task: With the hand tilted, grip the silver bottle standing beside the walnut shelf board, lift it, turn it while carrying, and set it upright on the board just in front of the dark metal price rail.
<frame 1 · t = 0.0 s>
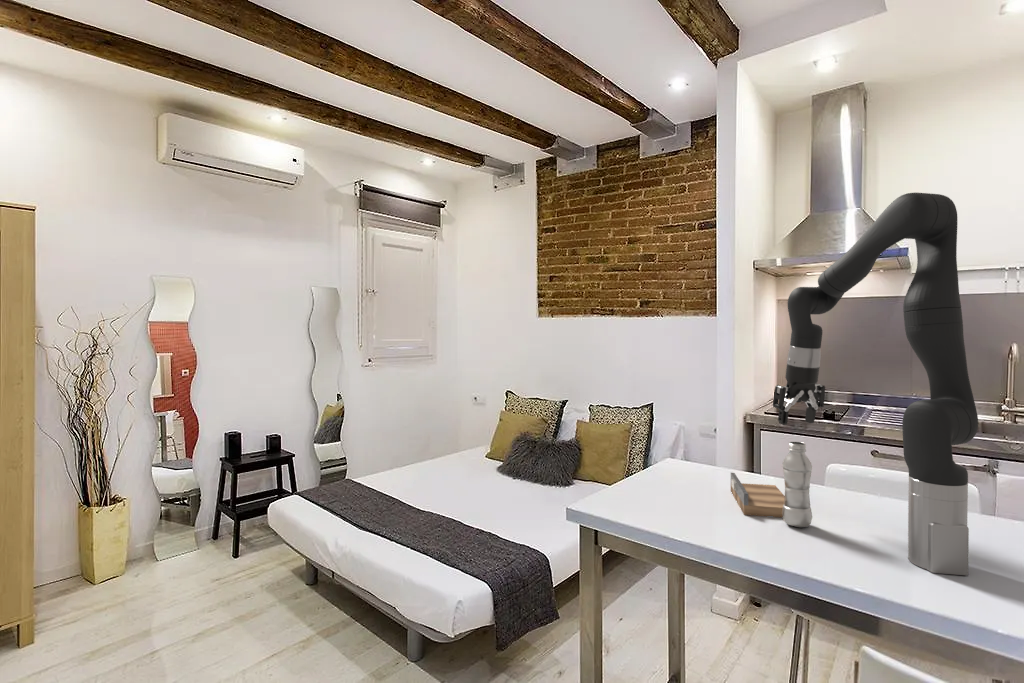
hand: (796, 423, 139), 22 cm above the table, tool pointing down, fingers open, 8 cm apart
price rail: (738, 502, 144), resting on shelf board
shelf board: (760, 503, 142), on the table
silver bottle: (796, 526, 127), on the table
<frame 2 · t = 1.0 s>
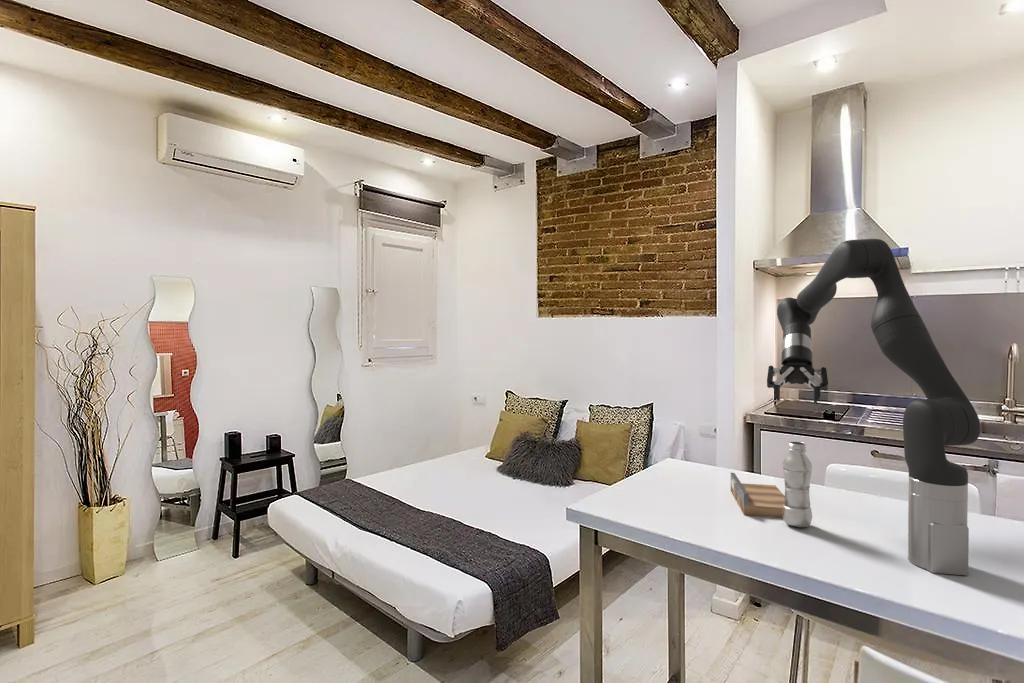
hand: (796, 399, 136), 29 cm above the table, tool tilted 45°, fingers open, 8 cm apart
nothing on the table moved.
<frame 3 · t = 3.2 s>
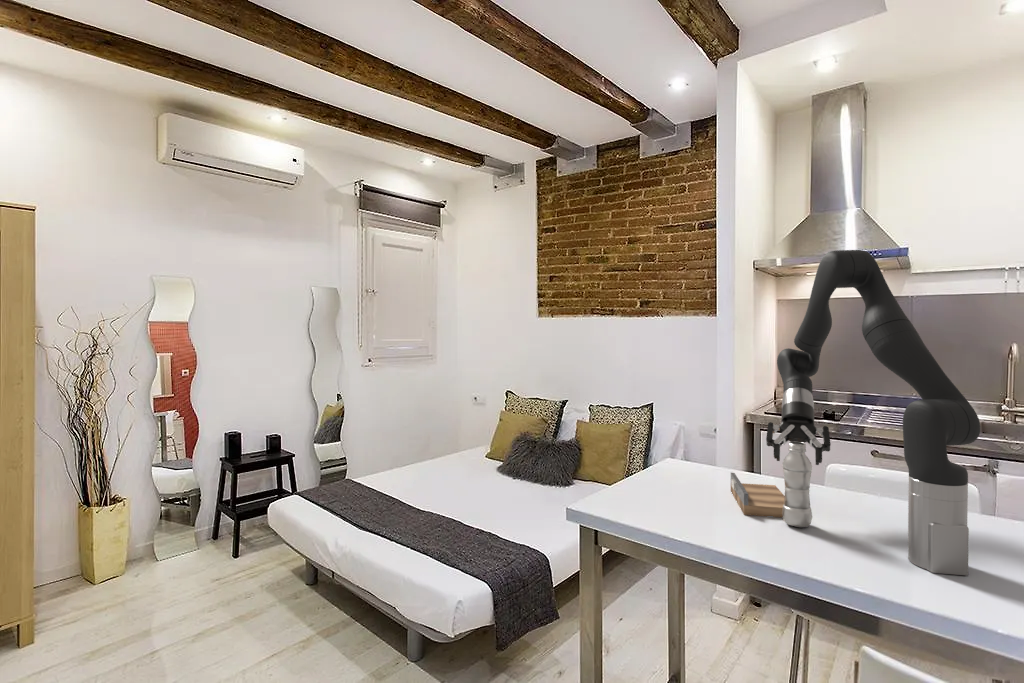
hand: (797, 461, 130), 15 cm above the table, tool tilted 45°, fingers open, 8 cm apart
nothing on the table moved.
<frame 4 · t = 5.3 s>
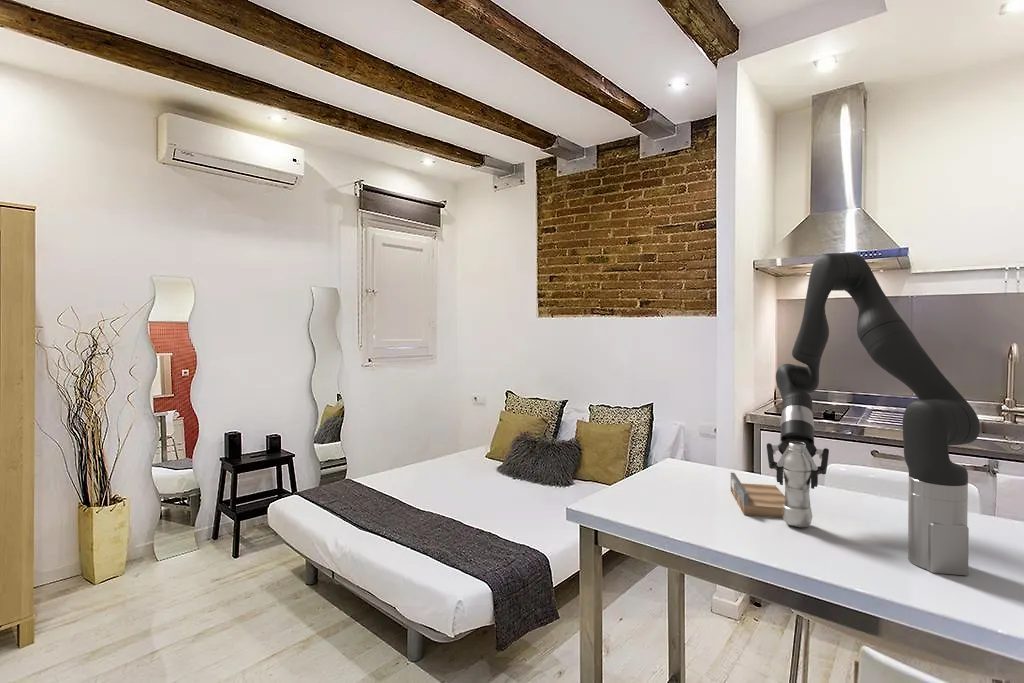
hand: (796, 484, 125), 10 cm above the table, tool tilted 45°, fingers closed on silver bottle, 6 cm apart
silver bottle: (796, 526, 127), on the table, touching gripper
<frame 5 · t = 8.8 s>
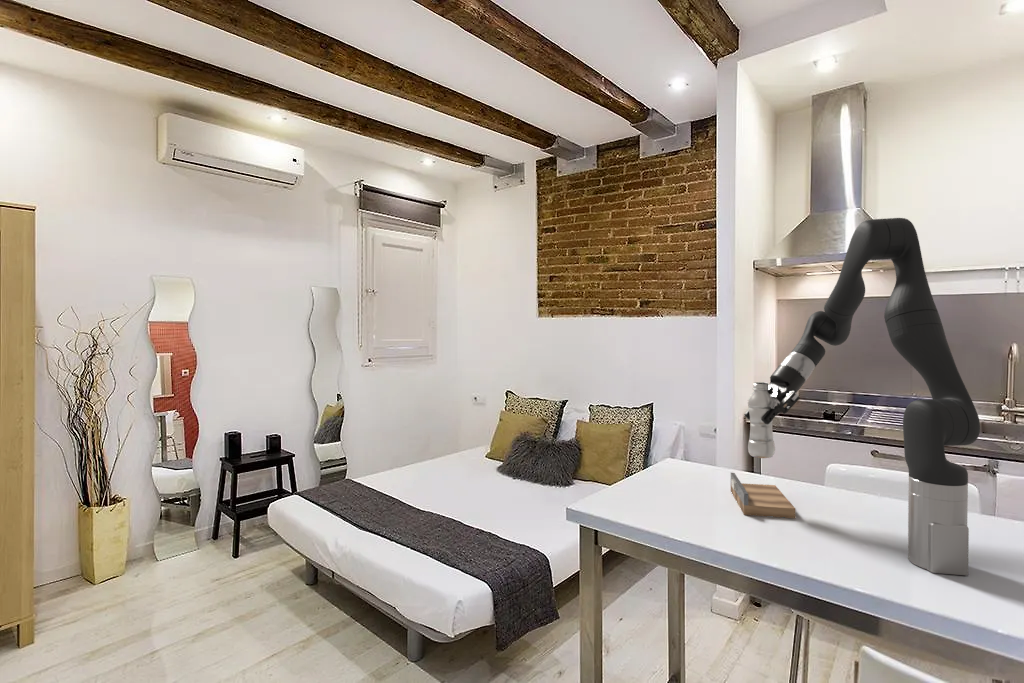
hand: (755, 419, 139), 23 cm above the table, tool tilted 45°, fingers closed on silver bottle, 6 cm apart
silver bottle: (761, 458, 140), point 13 cm above the table, touching gripper
when the fingers open (14 cm above the table, at t = 12.3 s): silver bottle drops 1 cm, resting on shelf board.
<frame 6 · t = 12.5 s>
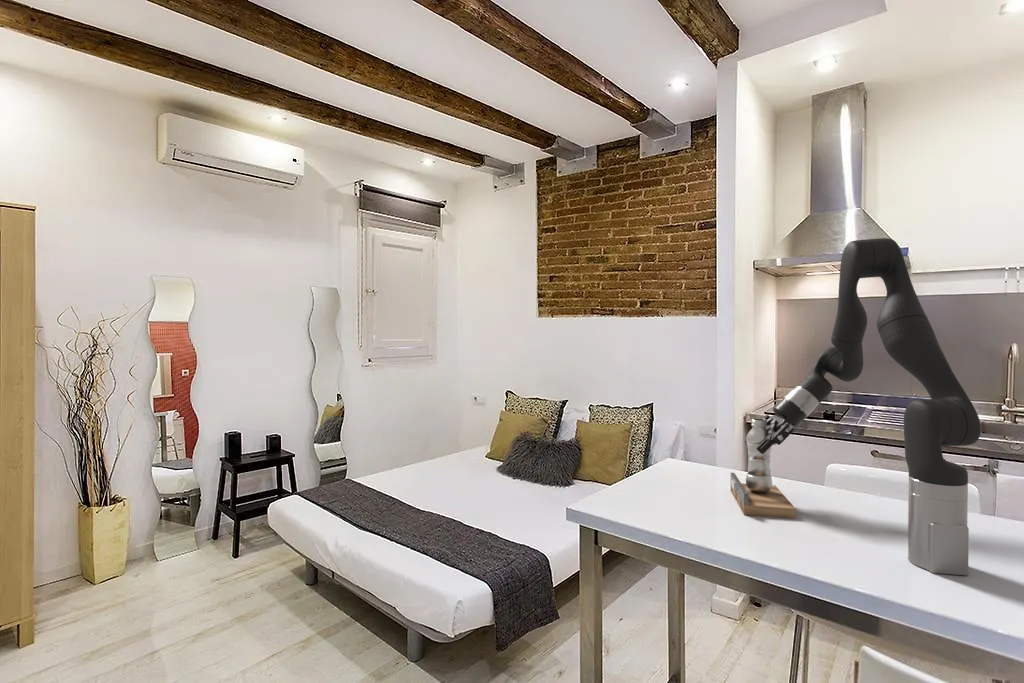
hand: (752, 447, 145), 15 cm above the table, tool tilted 45°, fingers open, 8 cm apart
silver bottle: (759, 492, 145), point 2 cm above the table, touching shelf board
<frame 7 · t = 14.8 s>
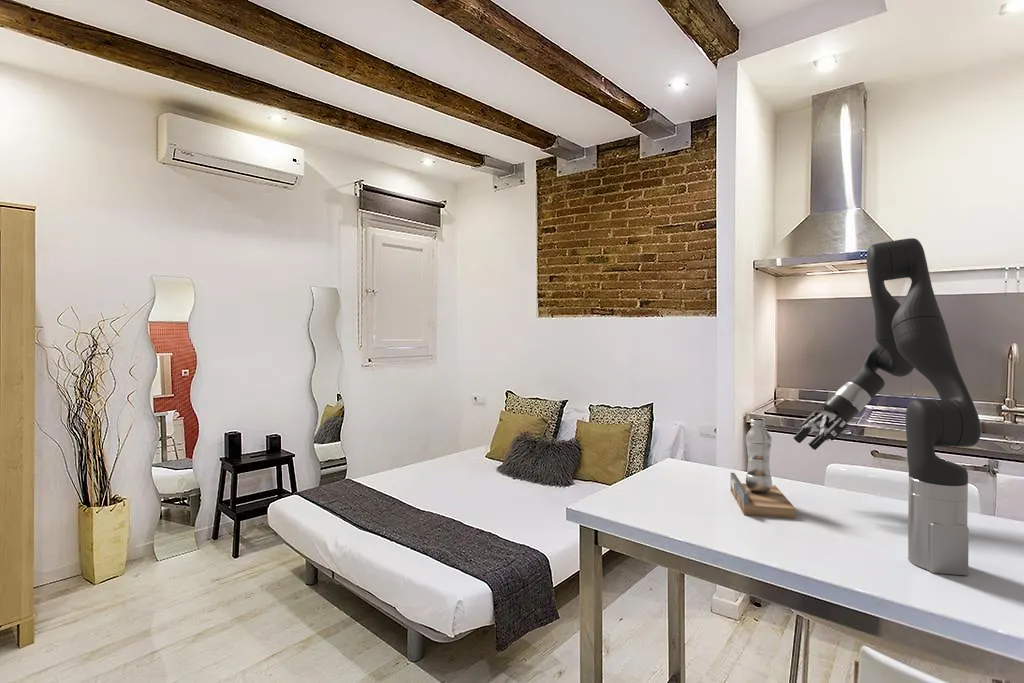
hand: (803, 443, 144), 16 cm above the table, tool tilted 45°, fingers open, 8 cm apart
nothing on the table moved.
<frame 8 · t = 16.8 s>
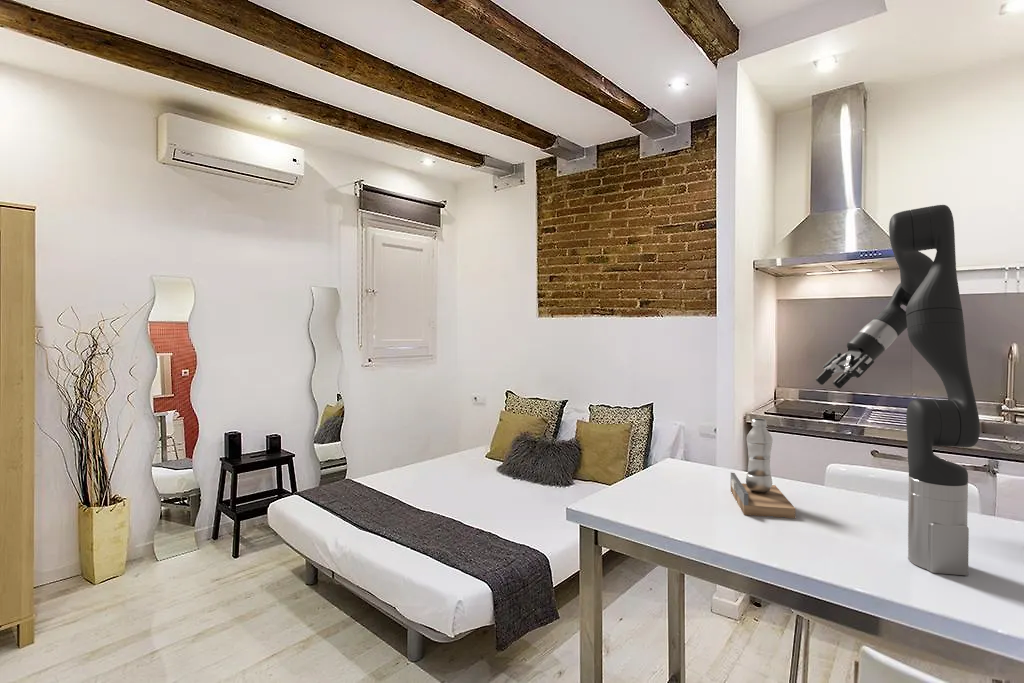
hand: (826, 384, 139), 33 cm above the table, tool tilted 45°, fingers open, 8 cm apart
nothing on the table moved.
at the end: silver bottle inside the target area (0.2 cm from its centre), point 2.3 cm above the table; silver bottle tilted 1°; the gripper is holding nothing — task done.
